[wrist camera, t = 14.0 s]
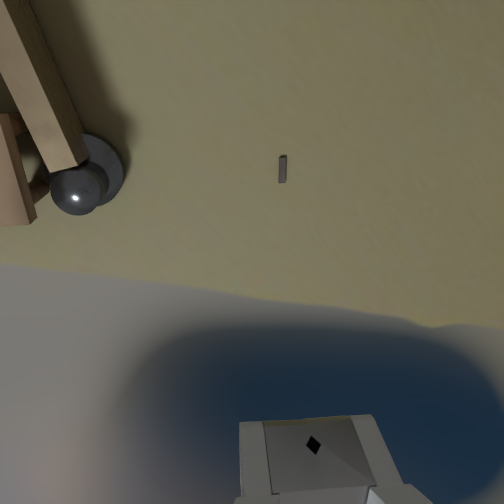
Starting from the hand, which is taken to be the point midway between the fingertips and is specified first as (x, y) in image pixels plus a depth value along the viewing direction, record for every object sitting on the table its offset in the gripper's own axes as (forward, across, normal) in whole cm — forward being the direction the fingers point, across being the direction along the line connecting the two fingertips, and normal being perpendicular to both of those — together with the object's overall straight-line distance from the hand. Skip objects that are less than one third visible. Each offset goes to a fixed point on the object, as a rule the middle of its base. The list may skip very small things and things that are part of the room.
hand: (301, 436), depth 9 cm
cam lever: (+28, +15, -5) cm, 33 cm away
